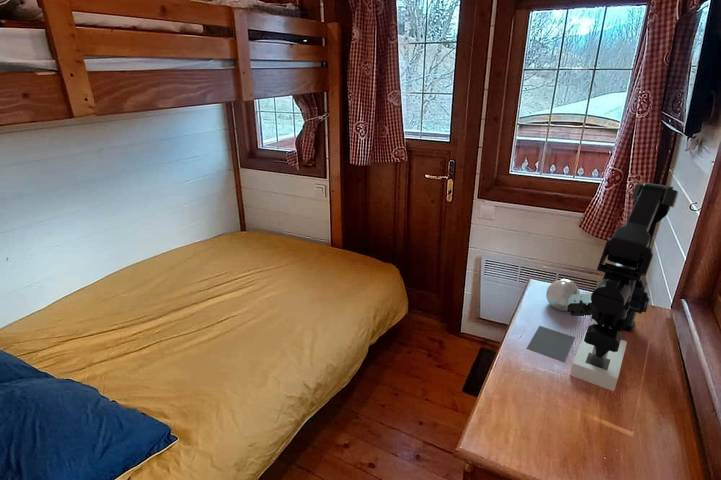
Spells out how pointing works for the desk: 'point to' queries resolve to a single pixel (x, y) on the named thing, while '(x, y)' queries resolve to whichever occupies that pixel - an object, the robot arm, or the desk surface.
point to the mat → (551, 343)
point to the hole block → (594, 374)
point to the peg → (598, 358)
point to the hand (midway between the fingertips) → (600, 352)
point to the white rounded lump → (561, 293)
